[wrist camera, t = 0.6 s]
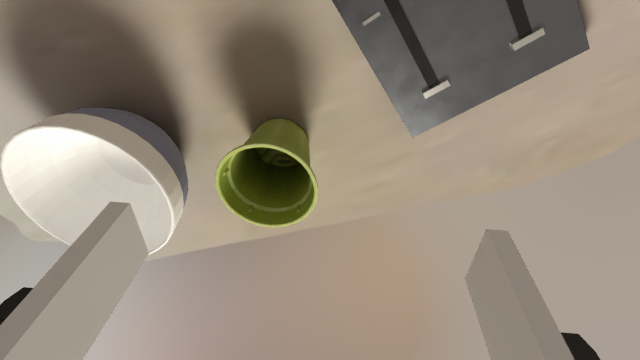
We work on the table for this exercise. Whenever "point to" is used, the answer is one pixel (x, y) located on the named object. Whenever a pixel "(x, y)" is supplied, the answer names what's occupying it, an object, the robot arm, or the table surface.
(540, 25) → the console
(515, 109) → the table surface
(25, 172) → the bowl
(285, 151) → the plant pot
